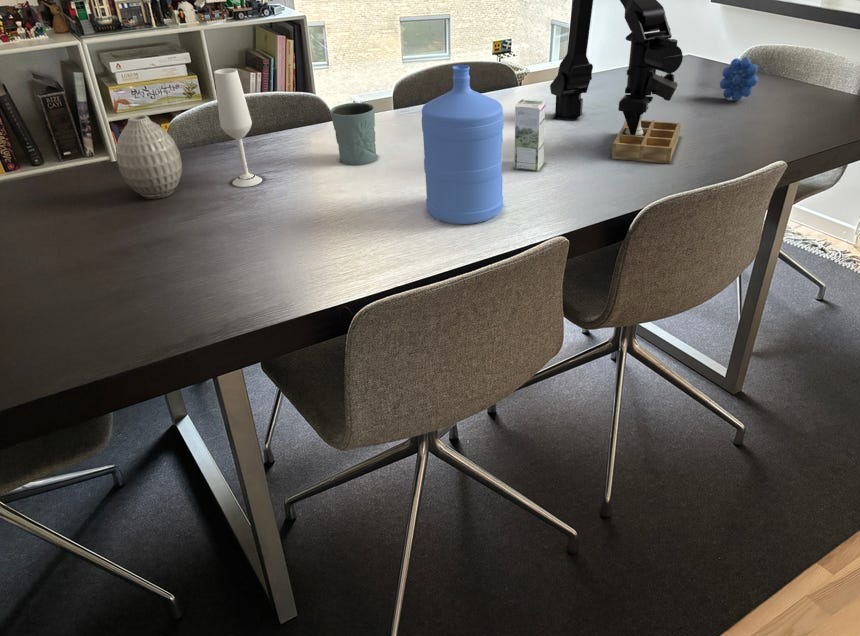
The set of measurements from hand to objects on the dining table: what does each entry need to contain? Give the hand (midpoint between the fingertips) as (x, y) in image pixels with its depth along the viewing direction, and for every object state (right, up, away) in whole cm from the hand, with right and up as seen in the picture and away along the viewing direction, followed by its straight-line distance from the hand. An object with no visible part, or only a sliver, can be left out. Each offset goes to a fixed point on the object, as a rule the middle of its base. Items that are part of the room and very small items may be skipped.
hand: (634, 131), depth 181 cm
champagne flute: (-90, -15, -11) cm, 92 cm away
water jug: (-41, -25, -27) cm, 55 cm away
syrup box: (-26, -11, -7) cm, 29 cm away
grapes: (+37, +19, +32) cm, 52 cm away
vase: (-108, -19, -16) cm, 111 cm away
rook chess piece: (0, -1, +1) cm, 2 cm away
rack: (+3, -4, +1) cm, 5 cm away
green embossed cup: (-67, -7, 0) cm, 67 cm away
